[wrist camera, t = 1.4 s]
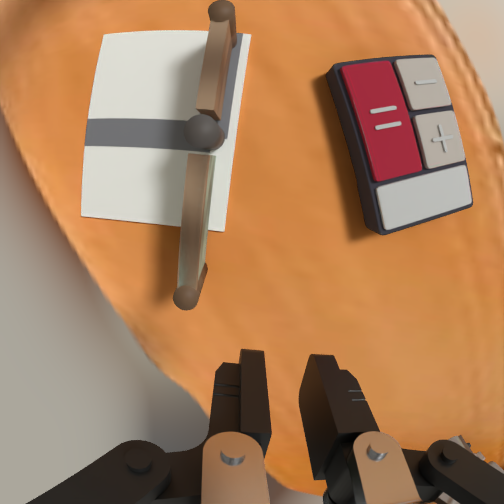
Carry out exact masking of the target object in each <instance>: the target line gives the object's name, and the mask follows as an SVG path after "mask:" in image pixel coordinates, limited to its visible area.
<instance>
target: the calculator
mask: <svg viewBox="0 0 504 504" xmlns="http://www.w3.org/2000/svg"><path fill="white" fill-rule="evenodd" d="M326 78H327V81H328V84H329V87H330V90H331V93H332V97H333V100H334V103H335V106H336V109H337V112H338V116H339V119H340V122H341V126H342V129H343V132H344V135H345V139H346V142H347V146H348V149H349V153H350V156H351V160H352V164H353V167H354V171H355V175H356V179H357V187H358V192H359V196H360V201H361V205H362V210H363V215H364V220H365V224H366V227H367V228H368V229H370V230H372V231H374V232H376V233H378V234H380V235H387V234H390V233H393V232H396V231H399V230H403V229H406V228H409V227H412V226H415V225H418V224H421V223H424V222H428V221H431V220H434V219H437V218H440V217H443V216H446V215H449V214H452V213H455V212H458V211H461V210H464V209H467V208H470V207H471V206H472V205H473V198H472V192H471V185H470V179H469V174H468V168H467V163H466V158H465V153H464V149H463V144H462V140H461V136H460V132H459V128H458V124H457V120H456V117H455V113H454V110H453V106H452V103H451V100H450V96H449V93H448V90H447V87H446V84H445V81H444V78H443V75H442V73H441V70H440V67H439V65H438V62H437V59H436V57H435V56H434V55H408V56H394V57H382V58H373V59H364V60H356V61H349V62H342V63H336V64H334V65H333V66H332V67H331V69H330V70H329V71H328V72H327V74H326Z"/></svg>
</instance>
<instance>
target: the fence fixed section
mask: <svg viewBox="0 0 504 504" xmlns="http://www.w3.org/2000/svg"><path fill="white" fill-rule="evenodd" d="M208 14H209V17H210V21H211V22H210V27H209V32H208V37H207V42H206V48H205V53H204V59H203V64H202V70H201V76H200V82H199V89H198V95H197V102H196V108H195V109H196V110H198V111H199V112H200V113H201V114H198V115H195V116H193V117H191V118H190V119H189V120H188V121H187V122H186V124H185V126H184V137H185V139H186V141H187V142H188V143H189V144H190V145H191V146H193V147H196V148H201V149H206V150H216V149H219V148H220V147H221V146H222V145H223V143H224V141H225V134H224V132H223V130H222V129H221V128H220V126H219V125H218V124H217V123H216V121H215V120H219V121H221V116H222V109H223V102H224V95H225V89H226V82H227V76H228V69H229V63H230V57H231V51H232V49H233V48H234V47H235V46H236V44H237V34H236V19H235V7H234V5H233V4H232V3H231V2H229V1H227V0H218V1H215V2H213V3H212V4H211V5H210V6H209V8H208Z"/></svg>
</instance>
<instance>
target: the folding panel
mask: <svg viewBox="0 0 504 504" xmlns="http://www.w3.org/2000/svg"><path fill="white" fill-rule="evenodd" d="M215 162H216V156H215V155H205V154H193V153H188V158H187V167H186V176H185V186H184V196H183V207H182V219H181V232H180V246H179V261H178V280H177V288H176V290H175V292H174V295H173V301H174V303H175V305H176V306H177V307H178V308H180V309H182V310H191V309H193V308H194V307H195V306H196V305H197V303H198V299H199V296H200V293H201V290H202V286H203V283H204V280H205V277H206V274H207V270H208V268H207V265H206V263H205V255H206V244H207V234H208V224H209V214H210V205H211V196H212V187H213V178H214V170H215Z"/></svg>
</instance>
